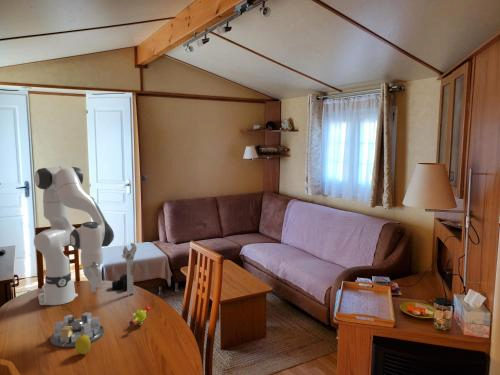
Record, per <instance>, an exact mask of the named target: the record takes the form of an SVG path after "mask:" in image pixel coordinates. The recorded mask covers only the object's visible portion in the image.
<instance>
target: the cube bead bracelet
mask: <svg viewBox="0 0 500 375" xmlns="http://www.w3.org/2000/svg"><path fill="white" fill-rule="evenodd" d="M99 319H100V316H99V315H98V316H92V312H84V313H82V314H81V317H80V318H76V319H75V315H73V314H71V313H70V314H67V315H64V316H63V320H62V321H61V320H60V321H55V322H54V330H53V333H54V339H55V340H56V341H58V342H60V343H70V342H71V343H75V342H76V340H77V338H78V337H79V336H81V335H86V336H88V337H89V339H90V338H93V336H96V335H97V334H98V333H99V331H100V325H101V322H100V320H99ZM75 320H83V321H84V324H82V325H80V328H81V332H75V333H73V326H71V322H73V321H75Z"/></svg>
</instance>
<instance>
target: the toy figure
mask: <svg viewBox="0 0 500 375" xmlns="http://www.w3.org/2000/svg"><path fill="white" fill-rule="evenodd" d="M150 311H151V307H150V306H145V309H144V310H142V309H137V310H136V311H135V312H134V313H133V314H132V316H133V319H132V320H130V321H129V323H128V324H129V326H131V327H133V326H135V324H136V322H137V323H138V324H137V326H138V325H140V326H141V325H142V324H143V322H144V321H145V320H146V318H147V315H146V313H148V312H150Z"/></svg>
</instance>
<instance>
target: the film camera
mask: <svg viewBox="0 0 500 375" xmlns="http://www.w3.org/2000/svg"><path fill="white" fill-rule="evenodd" d="M111 286H112V291H121V290H123V292H127V273H125V274H124V273H123V274H122V275H120V277H119V279H118V280H114V281H113V280H112V281H111Z"/></svg>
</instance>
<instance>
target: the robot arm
mask: <svg viewBox="0 0 500 375" xmlns="http://www.w3.org/2000/svg"><path fill="white" fill-rule="evenodd" d="M34 173H35V175H34V183H35V186H36V187H37V188H38V189H40V190H43V194H42V203H43V204H42V207H43V210H42V211H43V217H44V218H45V219H46V220H48V222H49V224H50V228H48V229H44V230H42V231H41V232H39V233H37V234H36V235H35V236H34V238H33V245H34V248H35V249H36V251H38V252H40V253H41V254H42V256H43V258H44V262H45V270H46V271H45V272H46V273H45V274H46V275H45V277H44V282H45V283H44V284H43V285H42V286H41V288H40V289H39V293H38V294H37V299H38V302H39V305H40V306H58V305H64V304H67V303H70V302H72V301H74V300H75V298H77V297H79V294H78V293H76V288H75V282H74V281H73V280H72V273H71V269H70V266H71V265H70V258H69V256H68V255H66V254H64V250H63V247H66V246H68V245H70V246H71V247H72V248H73V249H75V250H81V252H80V265H81V266H82V271H83V274H84V277H85V279H87V281H88V284H89V290H90V292H91V293H95V292H96V291H97V289H96V288H99V287H102V284H103V280H102V277H103V276H102V268H101V265H102V264H104V254H103V253H104V252H103V248H102V247H104V248H105V247H108V246H110V245H111V243H113V241H114V240H115V239H114V238H115V234H114V231H113V229H112V227H111V226H110V224H109V223H108V221H107V220H106V219H105V216H104V214H103V212H102V211H101V208H100V207H99V205H98V203H97V202H96V200H95V198H94V197H92V196H90V195H89V194H88V193H87V192H86V191H85V190H84V188H83V183H84V182H83V181H84V173H83V171H82V169H81V168H80V167H74V166H71V167H70V166H57V167H56V166H54V167H42V168H38V169H37V170H36V171H35V172H34ZM68 208H69V209H73V210H79V211H83V212H85V213H87V214H88V215H89V216H90V218H91V220H92V221H85V222H83V223H82V224H81V225H80V227H78V228H76V227H75V226H73V224H72V223H71V220H70V219H69V211H68Z"/></svg>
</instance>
